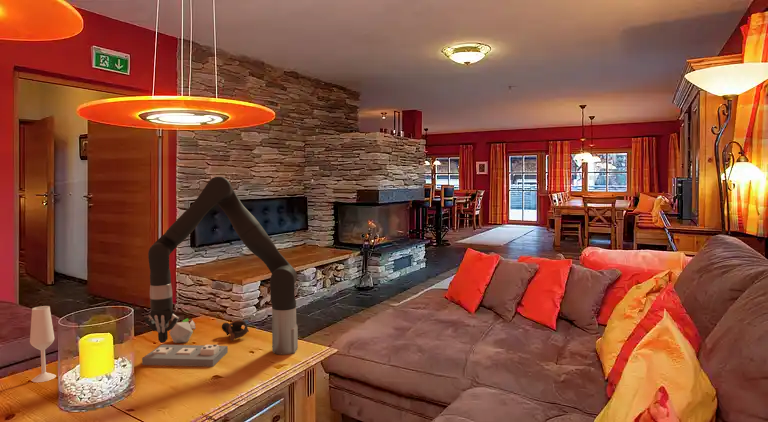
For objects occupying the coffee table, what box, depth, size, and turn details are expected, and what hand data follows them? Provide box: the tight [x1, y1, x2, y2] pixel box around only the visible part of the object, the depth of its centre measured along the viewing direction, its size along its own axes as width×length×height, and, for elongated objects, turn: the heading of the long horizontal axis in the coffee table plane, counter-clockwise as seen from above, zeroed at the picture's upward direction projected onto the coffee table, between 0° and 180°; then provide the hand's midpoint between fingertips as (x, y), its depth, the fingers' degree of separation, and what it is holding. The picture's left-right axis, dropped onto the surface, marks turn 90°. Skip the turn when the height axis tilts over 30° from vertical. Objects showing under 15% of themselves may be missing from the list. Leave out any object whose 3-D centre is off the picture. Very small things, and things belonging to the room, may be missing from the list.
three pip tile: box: [200, 344, 220, 355], centre depth 178 cm, size 5×5×3 cm
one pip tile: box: [177, 348, 196, 355], centre depth 178 cm, size 5×5×3 cm
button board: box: [141, 344, 229, 367], centre depth 178 cm, size 26×14×2 cm, turn 88°
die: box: [168, 321, 194, 344], centre depth 196 cm, size 8×9×10 cm
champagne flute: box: [29, 305, 57, 383], centre depth 159 cm, size 7×7×24 cm
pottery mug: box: [221, 319, 249, 342], centre depth 202 cm, size 12×10×8 cm
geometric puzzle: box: [181, 317, 197, 332], centre depth 207 cm, size 7×7×8 cm
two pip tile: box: [153, 346, 173, 354], centre depth 179 cm, size 5×5×3 cm
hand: (163, 341), depth 178 cm, fingers closed
